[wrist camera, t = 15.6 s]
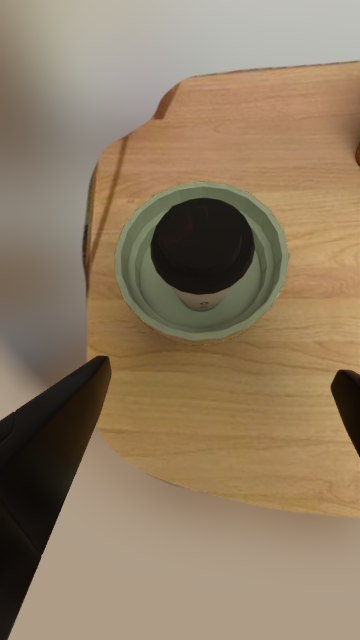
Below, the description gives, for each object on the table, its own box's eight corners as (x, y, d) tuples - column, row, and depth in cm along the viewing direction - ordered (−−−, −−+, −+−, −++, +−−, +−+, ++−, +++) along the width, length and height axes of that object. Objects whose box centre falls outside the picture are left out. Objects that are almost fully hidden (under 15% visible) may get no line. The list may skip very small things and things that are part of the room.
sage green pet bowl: (193, 378, 22) (191, 379, 18) (102, 272, 26) (82, 251, 21) (304, 277, 23) (327, 256, 19) (203, 190, 27) (204, 154, 23)
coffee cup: (245, 272, 23) (277, 201, 14) (220, 334, 22) (236, 304, 13) (183, 250, 25) (172, 171, 15) (156, 308, 23) (125, 262, 14)
